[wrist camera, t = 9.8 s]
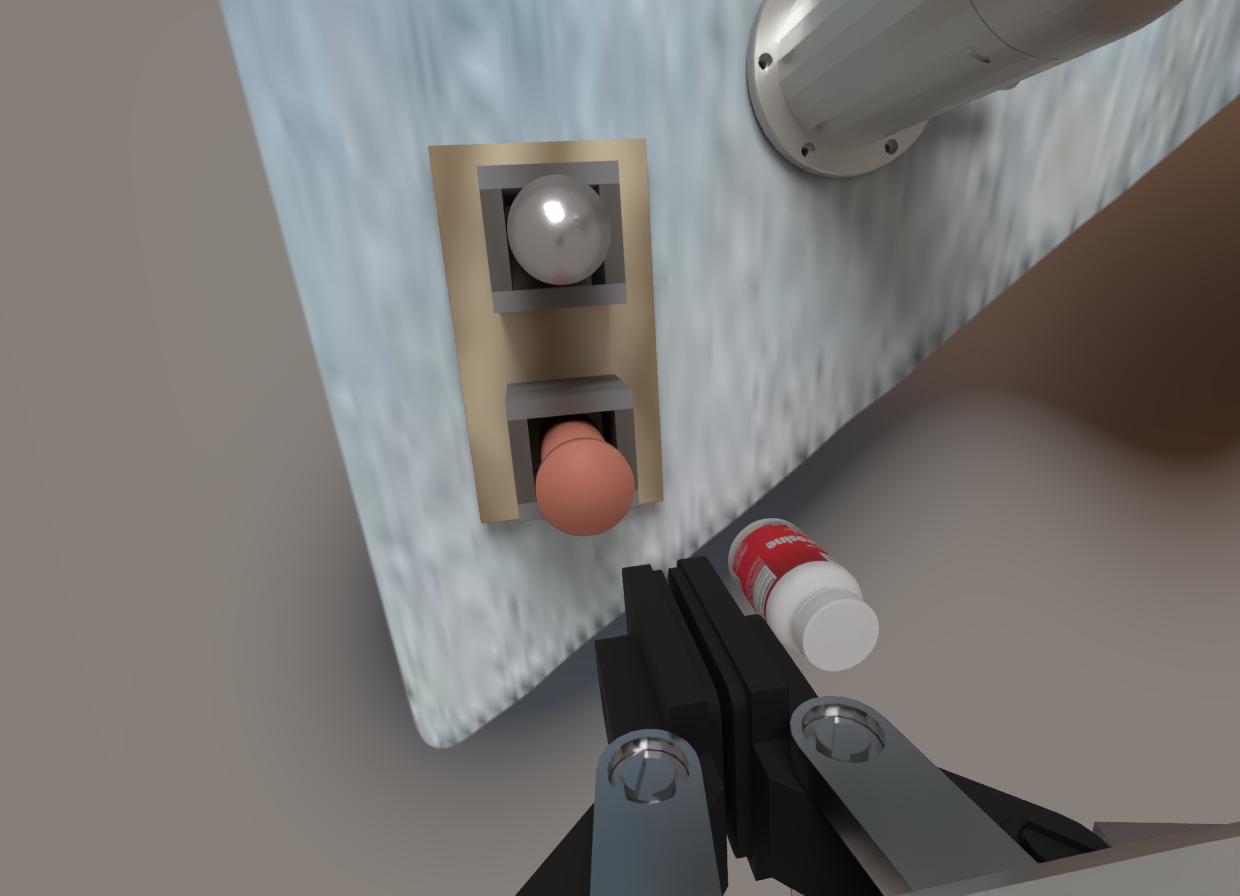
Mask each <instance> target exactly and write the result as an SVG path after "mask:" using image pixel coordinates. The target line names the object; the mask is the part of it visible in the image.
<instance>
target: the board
mask: <svg viewBox="0 0 1240 896" xmlns="http://www.w3.org/2000/svg"><path fill="white" fill-rule="evenodd" d="M428 150H429V157H430V164H431V171H432V178H433V185H434V192H435V199H436V206H437V213H438V221H439V228H440V235H441V242H442V249H443V256H444V263H445V270H446V277H447V284H448V292H449V299H450V306H451V313H452V320H453V327H454V334H455V341H456V348H457V355H458V363H459V370H460V377H461V384H462V391H463V398H464V405H465V412H466V419H467V427H468V434H469V441H470V448H471V455H472V462H473V469H474V476H475V483H476V490H477V498H478V505H479V512H480V519H481V523H489V522H497V521H505V520H513V519H519V521H520V522H521V521H530V520H538V519H546V518H545V517H544V515H543V514H542V512H541V510H540V508H539V505H538V502H537V497H536V476H537V472H538V469H539V467H540V465H541V454H540V446H539V437H540V432H541V430H542V428H543V426H544V424H545V423H546V422H547V421H548V420H549V419H550V418H551V417H553V416H560V415H570V414H580V413H583V414H585V415H587V416H588V417H589V418H591V419H592V420H593V421H594V423H595V424H596V426H597V427H598V429H599V431H600V433H601V434H602V436H603V438H604V440H605V442H607V443H609V444H611V445H612V446H614V447H615V448H616V449H617V450H618V451H619V452H620V453H621V454H622V455H623V456H624V458H625V459H626V461H627V463H628V464H629V466H630V468H631V470H632V473H633V477H634V482H635V492H634V498H633V501H632V504H631V506H630V508H635V507H639V504H644V503H652V502H660V501H663V481H662V461H661V441H660V420H659V400H658V380H657V359H656V339H655V319H654V298H653V278H652V258H651V237H650V217H649V197H648V176H647V156H646V139H619V140H590V141H561V142H531V143H502V144H473V145H444V146H428ZM555 174H556V175H567V176H571V177H574V178H577V179H579V180H581V181H583V182H584V183H586V184H587V185H589V186H590V187H591V188H592V189H593V190H594V191H595V192H596V193H597V194H598V195H599V197H600V198H601V199H602V201H603V203H604V204H605V206H606V209H607V211H608V214H609V218H610V222H611V242H610V246H609V250H608V252H607V255H606V257H605V259H604V261H603V262H602V264H601V265H600V266H599V268H598V269H597V270H596V271H595V272H594V273H592V274H591V275H590V276H588V277H587V278H585V279H583V280H581V281H579V282H576V283H572V284H566V285H554V284H549V283H545V282H542V281H540V280H538V279H536V278H534V277H533V276H531V275H530V274H529V273H527V272H526V271H525V270H524V269H523V268H522V267H521V265H520V264H519V263H518V261H517V260H516V258H515V256H514V254H513V252H512V250H511V247H510V244H509V239H508V234H507V222H508V215H509V211H510V208H511V205H512V203H513V201H514V199H515V198H516V196H517V195H518V194H519V192H520V191H521V190H522V189H523V188H524V187H525V186H526V185H528V184H529V183H530V182H532V181H534V180H536V179H538V178H540V177H543V176H547V175H555Z"/></svg>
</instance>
